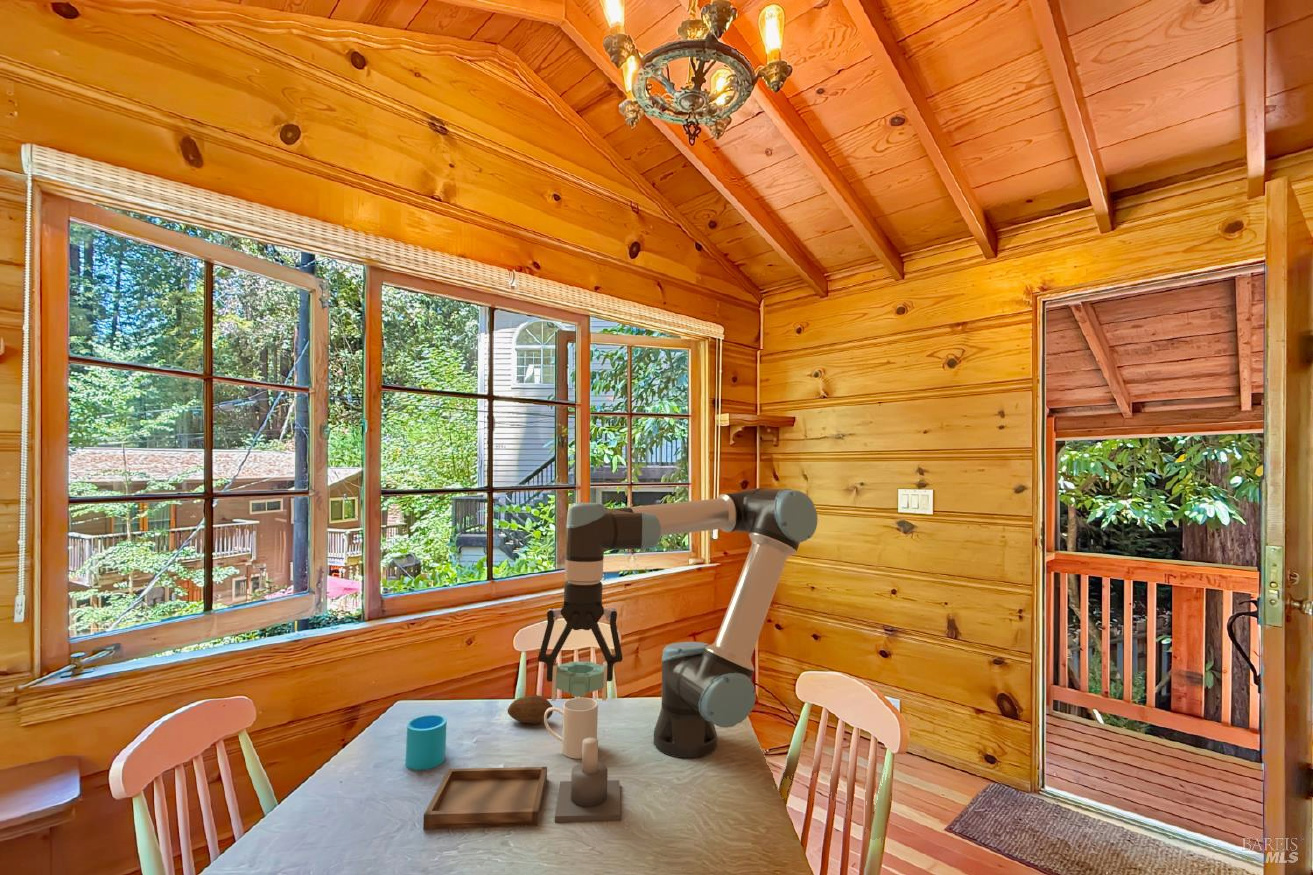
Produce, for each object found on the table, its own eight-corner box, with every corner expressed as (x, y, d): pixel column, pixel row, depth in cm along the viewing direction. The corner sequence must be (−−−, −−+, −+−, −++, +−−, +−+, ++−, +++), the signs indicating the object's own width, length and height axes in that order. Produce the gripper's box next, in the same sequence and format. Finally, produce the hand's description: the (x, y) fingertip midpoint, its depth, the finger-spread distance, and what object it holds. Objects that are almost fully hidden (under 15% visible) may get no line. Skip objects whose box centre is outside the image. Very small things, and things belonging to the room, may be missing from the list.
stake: (619, 784, 118) (620, 727, 119) (620, 819, 106) (621, 755, 107) (560, 786, 117) (561, 728, 118) (554, 821, 105) (556, 756, 106)
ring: (602, 676, 118) (603, 661, 118) (602, 696, 107) (603, 679, 107) (558, 676, 117) (558, 661, 117) (554, 696, 106) (554, 679, 106)
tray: (546, 779, 120) (547, 766, 120) (537, 825, 104) (537, 811, 104) (448, 781, 118) (448, 768, 118) (423, 829, 102) (423, 814, 102)
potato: (510, 716, 150) (511, 689, 151) (555, 717, 150) (556, 690, 151) (504, 728, 143) (505, 699, 144) (551, 728, 144) (552, 700, 144)
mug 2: (596, 742, 137) (597, 696, 137) (597, 758, 129) (598, 710, 130) (544, 744, 135) (545, 698, 136) (541, 760, 127) (543, 712, 128)
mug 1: (434, 771, 122) (436, 731, 123) (397, 768, 123) (399, 729, 124) (458, 745, 134) (460, 709, 135) (425, 742, 135) (426, 707, 135)
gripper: (637, 578, 119) (633, 690, 117) (530, 577, 117) (525, 691, 115) (639, 585, 112) (635, 705, 110) (525, 583, 110) (520, 705, 108)
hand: (579, 697), depth 113 cm, fingers closed on ring, 9 cm apart
